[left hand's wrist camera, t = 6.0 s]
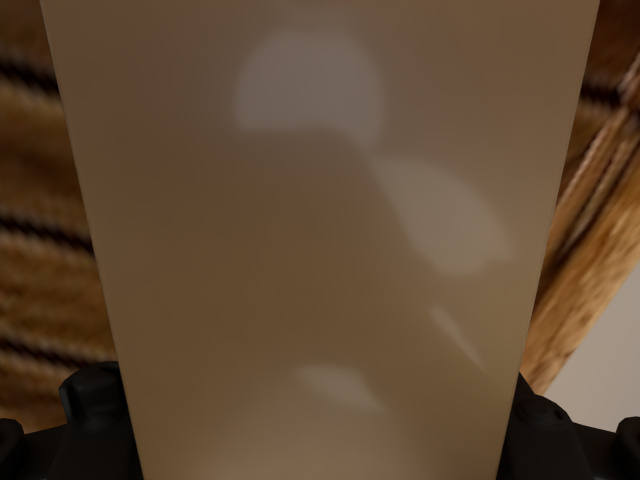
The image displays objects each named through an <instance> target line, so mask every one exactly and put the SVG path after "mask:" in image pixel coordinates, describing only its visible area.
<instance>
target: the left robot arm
mask: <svg viewBox="0 0 640 480" xmlns="http://www.w3.org/2000/svg"><path fill="white" fill-rule="evenodd" d="M58 391H59V394H60V398H61V401H62V404H63V408H64V411H65V415H66V418H67V422H68V423H67V424H64V425H61V426H58V427H54V428H50V429H46V430H41V431H37V432H33V433H29V434H24V431H23V428H22V425H21V424H20V423H18V422H17V421H16V420H14V419H7V418H2V419H0V480H144V477H143V473H142V468H141V464H140V459H139V454H138V450H137V445H136V441H135V436H134V432H133V427H132V422H131V418H130V413H129V409H128V404H127V399H126V395H125V390H124V386H123V381H122V377H121V372H120V367H119V363H118V362H116V361H111V362H101V363H97V364H93V365H89V366H87V367H85V368H83V369H81V370H78V371H76V372H75V373H73V374H72V375H71V376H69V377H68V378H67V379H65V380H64V382H63V383H62V384H61V386H60V387H59V388H58ZM496 480H640V417H637V416H636V417H629V418H625V419H623V420H622V421H621V422H620V423H619V424H618V427H617V430H616V433H614V432H610V431H606V430H601V429H597V428H593V427H589V426H584V425H581V424H577V423H574V422H572V420H571V419H570V417H569V416H568V414H567V412H566V411H564V410H563V409H562V408H561V407H560V406H559V405H557V404H556V403H554V402H553V401H551V400H549V399H547V398H545V397H543V396H540V395H536V394H534V392H533V391H532V389H531V388H530V386H529V385H528V383H527V382H526V380H525V379H524V378H523V376H522V375H521V373H520V372H519V374H518V379H517V383H516V388H515V393H514V397H513V402H512V406H511V411H510V416H509V420H508V425H507V429H506V434H505V439H504V443H503V448H502V452H501V457H500V461H499V466H498V471H497V475H496Z"/></svg>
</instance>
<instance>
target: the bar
mask: <svg viewBox="0 0 640 480" xmlns="http://www.w3.org/2000/svg"><path fill="white" fill-rule="evenodd" d="M39 1H40V5H41V10H42V14H43V19H44V24H45V28H46V33H47V37H48V42H49V47H50V51H51V56H52V60H53V65H54V69H55V74H56V79H57V83H58V88H59V92H60V97H61V102H62V106H63V111H64V115H65V120H66V124H67V129H68V134H69V138H70V143H71V147H72V152H73V157H74V161H75V166H76V170H77V175H78V179H79V184H80V189H81V193H82V198H83V202H84V207H85V212H86V216H87V221H88V225H89V230H90V234H91V239H92V244H93V248H94V253H95V257H96V262H97V267H98V271H99V276H100V280H101V285H102V289H103V294H104V299H105V303H106V308H107V312H108V317H109V322H110V326H111V331H112V335H113V340H114V344H115V349H116V354H117V358H118V363H119V367H120V372H121V377H122V381H123V386H124V390H125V395H126V399H127V404H128V409H129V413H130V418H131V422H132V427H133V432H134V436H135V441H136V445H137V450H138V454H139V459H140V464H141V468H142V473H143V477H144V480H496V475H497V471H498V466H499V461H500V457H501V452H502V448H503V443H504V439H505V434H506V429H507V425H508V420H509V416H510V411H511V406H512V402H513V397H514V393H515V388H516V383H517V379H518V374H519V370H520V365H521V360H522V356H523V351H524V347H525V342H526V338H527V333H528V328H529V324H530V319H531V315H532V310H533V305H534V301H535V296H536V292H537V287H538V282H539V278H540V273H541V269H542V264H543V259H544V255H545V250H546V246H547V241H548V237H549V232H550V227H551V223H552V218H553V214H554V209H555V204H556V200H557V195H558V191H559V186H560V181H561V177H562V172H563V168H564V163H565V158H566V154H567V149H568V145H569V140H570V136H571V131H572V126H573V122H574V117H575V113H576V108H577V103H578V99H579V94H580V90H581V85H582V80H583V76H584V71H585V67H586V62H587V57H588V53H589V48H590V44H591V39H592V35H593V30H594V25H595V21H596V16H597V12H598V7H599V2H600V0H39Z"/></svg>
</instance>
